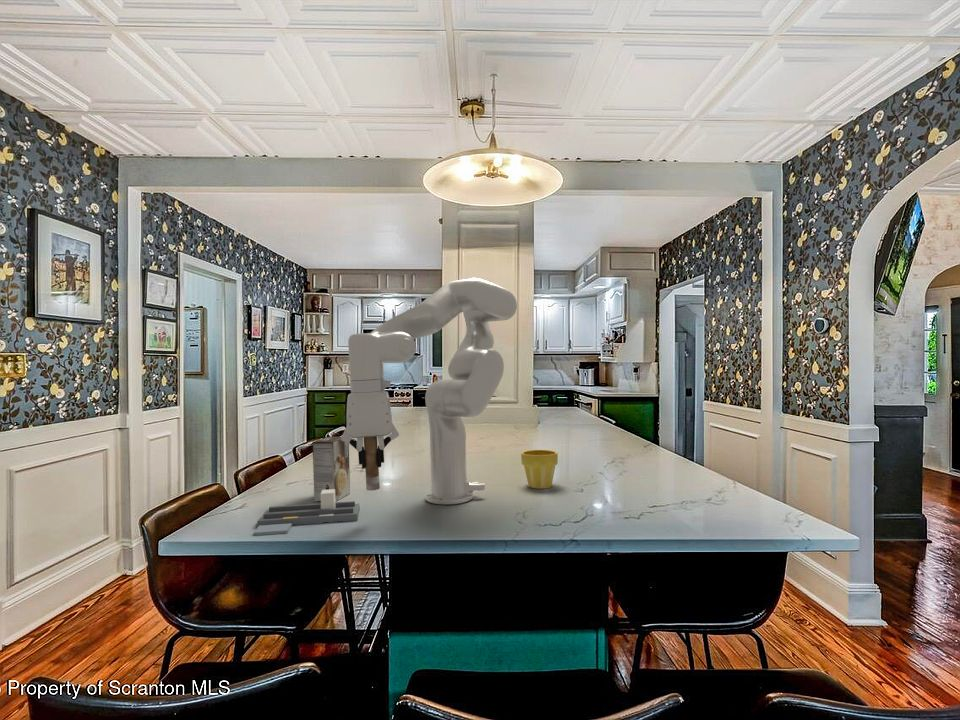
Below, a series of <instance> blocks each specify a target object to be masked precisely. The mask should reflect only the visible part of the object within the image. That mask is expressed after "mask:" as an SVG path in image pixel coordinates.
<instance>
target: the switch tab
mask: <svg viewBox="0 0 960 720" xmlns="http://www.w3.org/2000/svg"><path fill="white" fill-rule="evenodd" d="M320 495H321V502H320V503H321V509H335V508H336V502H337V501H335V489H330V490H322V492H321V494H320Z"/></svg>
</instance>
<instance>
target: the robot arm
mask: <svg viewBox="0 0 960 720" xmlns="http://www.w3.org/2000/svg"><path fill="white" fill-rule="evenodd" d="M517 307H518V302H517V299H516V297H515V295H514V294H513V293H512V292H511V291H510V290H508V289H507V288H505V287H502V286H499V285H498V284H495V283H493V282H489V281H488V280H484V279H482V278H477V277H472V278H464V279H457V280H452V281H449V282H447V283H446V284H444V285H443V286H441V287H440V288H438V290H436V291H435V292H433V293H432V294H431V295H429V296H428V297H427V298H425V299H424V300H423V301H421V302H420V303H418V304H417V305H415V306H413V307H410V308H409V309H407V310H405V311H403V312H402V313H399V314H397V315H395V316H394V317H392V318H390V319H388V320H386V321H384V322H383V323H382V324H380V325H378V326H377V327H376V328H375V329H373V330H371V332H367V333H364V332H363V333H354V334H351V335H350V336H349V338H348V341H347V342H348V343H347V347H348V362H349V379H350V393H349V394H348V395H347V399H346V400H347V401H346V427H345V429H344V431H343V433H342V435H341V436H340V437H341V440H342V441H344V442H346V443H349V445H350V446H352V448H354V450H356V451H357V452H358V453H357V454H358V465H361V469H362V470H365V451H364V437H377V444H378V445H377V447H378V450H377V457H378V467H379V468H382V464H384V463H385V450H384V449H385V448H386V447H387V446H388V444H390V443H391V441H393V440H395V439H397V438H399V436H400V433H399V431H398V430H397V428H396V427H395V425H394V423H393V417H392V406H391V400H390V395H389V392H388V391H385V389H386V388H389V387H391V380H386V379H385V378H384V377H385V376H384V364H401V363H405V362H408V361H410V360H411V359H412V358H413V357H414V355H415V353H416V350H417V345H416V341H415V340H417V339H420V338H425V337H427V336H431V335H434V334H436V333H438V332H439V331H441V330H442V329H443V328H444V327H445V326H447V325H448V324H449V323H450V322H452V320H453V319H455V318H456V317H458V316H459V315H460V314H461V313H463V317H464V322H465V328H466V331H465V335H464V337H463V339H462V341H461V343H460V345H459V346H458V347H457V349H456V351H455V353H454V354H453V356H452V358H451V360H450V361H449V364H448V367H447V373H448V375H449V377H450V378H451V379H450V378H449V379H448V378H447V379H438V380H435V381H433V382H431V384H430V385H429V386H428V388H427V389H426V392H425V394H424V395H425V396H424V398H425V399H424V400H425V406H426V411H427V416H428V422H429V449H430V451H429V453H430V454H429V455H430V491H428V492H426V493H425V496H424V499H425V501H426V502H428V503H431V504H436V505H458V504H459V505H460V504H463V503H466V502H470V501H471V500H472V499H473V498H474V493H473V492H474V491H478V492H479V491H480V492H482V491H485V489H486V488H485V482H478V481H475V482H474V481H473V482H471V481H469V480H468V477H467V476H468V475H467V440H466V439H467V433H466V432H467V431H466V427H465V424H464V421H463V419H462V418H475V417H479V416H480V415H481V414H483V412H484V411H485V410H486V408H487V407H488V405H489V403H490V401H491V399H492V398H493V396H494V394H495V392H496V391H497V388H498V387H499V384H500V383H501V380H502V378H503V375H504V371H505V370H504V368H505V364H504V358H503V357H502V354H501V353H500V352H498V350H496V349H493V346H494V344H495V342H494V341H495V340H494V335H493V333H492V330H491V328H490V326H489V323H490V322H501V321H507V320H510V319H512V318H513V317H514V316H515V314H516V313H517V309H518V308H517ZM385 436H386V437H385ZM384 437H385V438H384Z"/></svg>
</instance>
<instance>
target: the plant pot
mask: <svg viewBox="0 0 960 720" xmlns="http://www.w3.org/2000/svg"><path fill="white" fill-rule="evenodd" d="M520 454H521V455H520V458H521V460H520V461H521V464H522V465H523V468H524V472H525V475H526V479H527V480H526V481H527V485H528V487H529V488H533V489H536V490H537V489H538V490H540V489H541V490H543V489H545V490H546V489H549V488H552V486H553V481H554V475H555V470H556V466H557V465H558V460H559V458H558V456H559V454H558V452H557V451H555V450H551V449H528V450H524V451H522V452H520Z"/></svg>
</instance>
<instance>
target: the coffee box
mask: <svg viewBox="0 0 960 720" xmlns="http://www.w3.org/2000/svg"><path fill="white" fill-rule="evenodd" d="M341 437H342V436H327V437H323V438H320V439H317V440H314V441H312V442H311V443H312V445H311V446H312V468H313V469H312V470H313V471H312V472H313V476H312V477H313V501H314V502H317V501H321V495H320V494H321V492H322V490H330V489H335V501H336V502H338V501H339V500H341V499H342V498H344V497H346V496H349V495H350V494H351V479H350V478H351V475H350V473H351V471H350V444H349V443H346V442H344V441H342V440H341Z"/></svg>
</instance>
